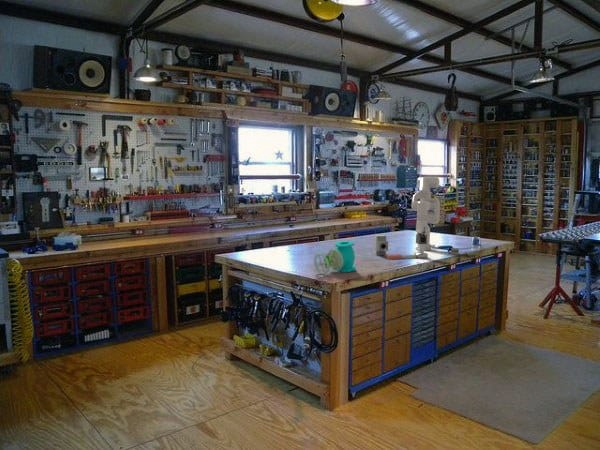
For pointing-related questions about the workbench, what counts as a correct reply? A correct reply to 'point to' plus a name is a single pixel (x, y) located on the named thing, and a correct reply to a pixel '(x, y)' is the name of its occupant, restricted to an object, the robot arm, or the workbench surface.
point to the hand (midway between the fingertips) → (421, 241)
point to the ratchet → (416, 255)
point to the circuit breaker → (380, 245)
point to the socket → (418, 239)
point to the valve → (338, 258)
